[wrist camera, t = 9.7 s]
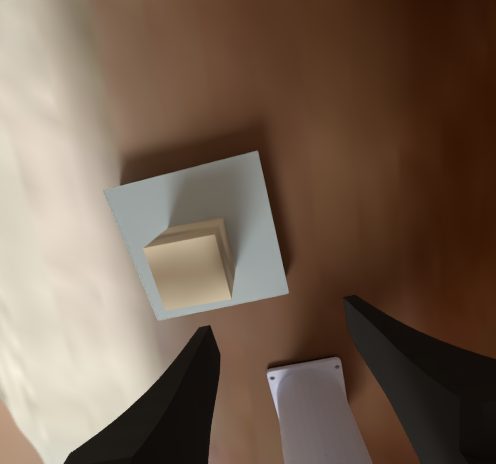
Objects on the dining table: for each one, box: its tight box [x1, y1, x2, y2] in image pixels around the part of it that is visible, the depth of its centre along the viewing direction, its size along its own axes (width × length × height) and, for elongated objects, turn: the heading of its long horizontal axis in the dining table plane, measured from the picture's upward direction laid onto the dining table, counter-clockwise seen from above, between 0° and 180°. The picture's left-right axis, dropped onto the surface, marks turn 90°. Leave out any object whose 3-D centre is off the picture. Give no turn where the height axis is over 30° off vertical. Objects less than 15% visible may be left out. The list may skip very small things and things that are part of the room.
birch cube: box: [143, 217, 236, 311], centre depth 17 cm, size 4×4×4 cm
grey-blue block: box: [103, 151, 289, 321], centre depth 20 cm, size 12×12×3 cm
